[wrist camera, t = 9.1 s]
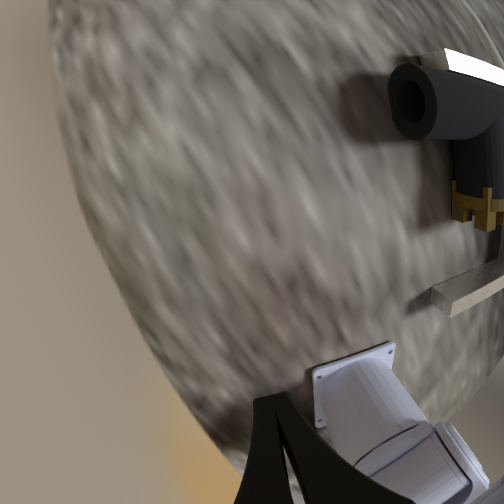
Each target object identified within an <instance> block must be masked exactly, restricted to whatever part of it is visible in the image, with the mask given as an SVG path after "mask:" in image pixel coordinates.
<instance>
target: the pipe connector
mask: <svg viewBox="0 0 504 504" xmlns="http://www.w3.org/2000/svg"><path fill="white" fill-rule="evenodd" d="M388 93H389V99H390V105H391V111H392V117H393V121H394V123H395V125H396V126H397V128H398V130H399V131H400V132H401V133H402V134H403V135H405V136H406V137H407V138H410V139H413V140H453V148H454V161H455V180H452V219H454V220H457V221H459V222H462V223H464V222H468V221H471V220H472V215H474V216H475V224H474V227H475V228H477V229H480V230H482V231H484V232H489V231H492V230H494V229H495V226H496V224H498V225H501V226H504V88H502V87H500V86H497V85H494V84H491V83H488V82H485V81H482V80H479V79H475V78H472V77H468V76H465V75H461V74H457V73H453V72H449V71H445V70H440V69H435V68H431V67H425V66H420V65H414V64H402V65H400V66H398V67H397V68H396V69H395V70H394V71H393V73H392V74H391V77H390V79H389V83H388Z"/></svg>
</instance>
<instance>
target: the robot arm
mask: <svg viewBox="0 0 504 504" xmlns="http://www.w3.org/2000/svg"><path fill="white" fill-rule="evenodd" d="M394 352H395V344H394V342H392V341H391V342H388V343H386V344H383V345H380V346H378V347H375V348H373V349H370V350H367V351H364V352H362V353H359V354H356V355H353V356H350V357H347V358H344V359H341V360H338V361H335V362H332V363H329V364H326V365H323V366H319V367H316V368H315V369H313V371H312V380H313V396H314V414H315V426H316V428H321V427H324V426H326V428H327V430H328V433H329V435H330V437H331V440H332V442H333V445H334V447H335V449H336V452H335V451H334V450H333V449H332V448H331V447H330V446H329V445H328V444H327V443H326V442H325V441H324V440H323V439H322V438H321V437H320V435H319V434H318V433H317V432H316V431H315V430H314V429H313V427H312V426H311V425H310V424H309V423H308V421H307V420H306V419H305V418H304V416H303V415H302V413H301V412H300V411H299V409H298V408H297V406H296V404H295V403H294V401H293V399H292V398H291V396H290V393H289V392H282V393H278V394H274V395H270V396H266V397H261V398H257V399H254V400H253V413H254V414H253V430H252V437H251V444H250V450H249V455H248V459H247V464H246V468H245V472H244V475H243V479H242V482H241V485H240V488H239V491H238V494H237V496H236V499H235V501H234V504H294V503H293V499H292V496H291V491H290V486H289V480H288V474H287V467H286V461H285V455H284V449H283V446H284V448H285V451H286V454H287V456H288V459H289V461H290V464H291V466H292V469H293V471H294V474H295V476H296V478H297V481H298V483H299V486H300V489H301V491H302V494H303V498H304V501H305V504H504V475H502V476H501V477H500V478H499V479H498V480H497V481H496V482H495V483H494V484H492V486H490V487H489V486H488V485H489V479H488V478H487V476H486V474H485V473H484V471H483V470H482V466H481V464H480V463H479V461H478V460H477V458H476V457H475V455H474V454H473V453H472V451H471V450H470V448H469V447H468V446H467V444H466V443H465V441H464V440H463V439H462V437H461V436H460V435H459V433H458V432H457V431H456V429H455V428H454V427H453V426H452V424H451V423H450V422H442V421H440V422H438V423H437V424H436V425H435V427H434V426H433V425H432V424H431V423H429V421H428V420H427V419H426V417H425V416H424V414H423V413H422V412H421V410H420V409H419V407H418V406H417V405H416V403H415V402H414V401H413V399H412V398H411V396H410V395H409V394H408V392H407V391H406V390H405V388H404V387H403V385H402V384H401V383H400V381H399V380H398V379H397V377H396V376H395V375H394V373H393V372H392V371H391V368H392V363H393V357H394ZM317 376H318V377H317Z"/></svg>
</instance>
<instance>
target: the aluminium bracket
mask: <svg viewBox="0 0 504 504" xmlns="http://www.w3.org/2000/svg"><path fill="white" fill-rule="evenodd" d="M419 58H420V62H421V66H425V67H431V68H435V69H440V70H445V71H449V72H453V73H457V74H461V75H465V76H468V77H472V78H475V79H479V80H482V81H485V82H488V83H491V84H494V85H497V86H500V87H502V88H504V70H502V69H500V68H498V67H495V66H493V65H490V64H488V63H485V62H483V61H480V60H478V59H475V58H472V57H469V56H466V55H464V54H461V53H457V52H454V51H451V50H448V49H441V50H438V51H434V52H430V53H427V54H424V55H420V56H419ZM502 288H504V226H501V236H500V244H499V251H498V257H497V258H496V259H494V260H491V261H489V262H487V263H485V264H483V265H481V266H479V267H477V268H474V269H472V270H470V271H468V272H466V273H463V274H461V275H459V276H456V277H454V278H452V279H449V280H447V281H445V282H442V283H440V284H437V285H435V286H432V290H431V297H430V302H431V303H432V304H433V305H434V306H436V307H437V308H438V309H439V310H440V311H442V312H443V313H444V314H445V315H446V316H448V317H449V318H451V317H453V316H455V315H457V314H459V313H460V312H462V311H464V310H466V309H468V308H470V307H471V306H473V305H475V304H477V303H479V302H480V301H482V300H484V299H486V298H487V297H489V296H491V295H492V294H494V293H496V292H497V291H499V290H501V289H502Z"/></svg>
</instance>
